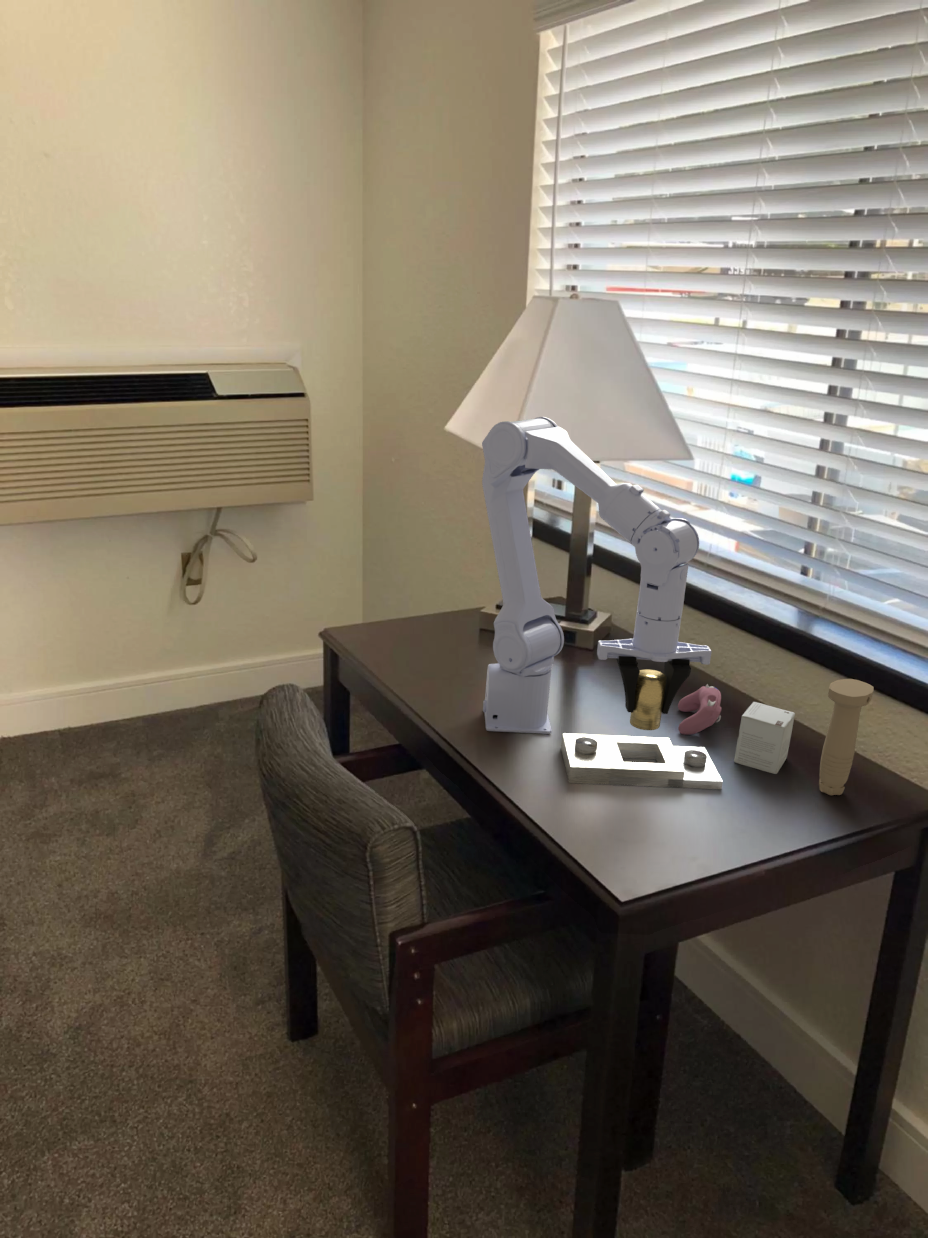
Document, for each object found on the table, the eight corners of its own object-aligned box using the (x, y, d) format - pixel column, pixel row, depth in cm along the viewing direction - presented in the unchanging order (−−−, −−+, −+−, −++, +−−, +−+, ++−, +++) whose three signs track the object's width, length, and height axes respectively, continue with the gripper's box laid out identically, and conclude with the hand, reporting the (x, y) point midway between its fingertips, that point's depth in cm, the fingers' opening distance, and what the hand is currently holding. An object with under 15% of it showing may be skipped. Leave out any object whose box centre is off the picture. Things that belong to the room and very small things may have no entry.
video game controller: (701, 748, 146) (730, 712, 143) (675, 732, 146) (703, 695, 143) (699, 720, 155) (726, 686, 152) (675, 705, 155) (701, 670, 152)
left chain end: (569, 783, 130) (571, 758, 129) (560, 748, 139) (563, 725, 138) (682, 787, 131) (686, 763, 130) (666, 753, 140) (670, 730, 139)
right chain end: (608, 784, 130) (610, 768, 130) (597, 750, 140) (599, 734, 139) (721, 789, 131) (724, 773, 130) (703, 754, 140) (705, 739, 139)
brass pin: (632, 729, 131) (638, 681, 129) (627, 716, 135) (633, 668, 132) (662, 731, 131) (669, 682, 129) (657, 717, 135) (663, 670, 132)
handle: (801, 790, 132) (821, 687, 127) (825, 776, 136) (846, 675, 131) (834, 805, 129) (857, 700, 124) (859, 791, 133) (881, 688, 128)
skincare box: (744, 747, 144) (752, 700, 141) (787, 758, 141) (796, 711, 138) (733, 763, 139) (741, 715, 136) (776, 775, 136) (785, 726, 133)
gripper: (607, 621, 124) (596, 720, 128) (722, 627, 124) (707, 725, 129) (599, 603, 130) (589, 698, 135) (708, 608, 131) (694, 702, 135)
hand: (646, 710), depth 132 cm, fingers closed on brass pin, 4 cm apart
